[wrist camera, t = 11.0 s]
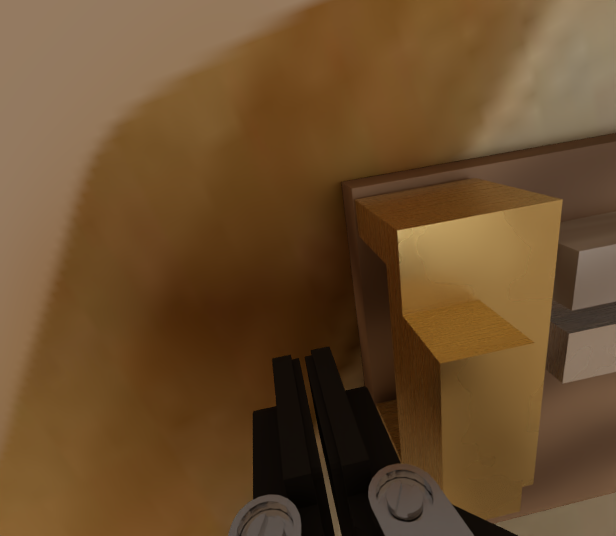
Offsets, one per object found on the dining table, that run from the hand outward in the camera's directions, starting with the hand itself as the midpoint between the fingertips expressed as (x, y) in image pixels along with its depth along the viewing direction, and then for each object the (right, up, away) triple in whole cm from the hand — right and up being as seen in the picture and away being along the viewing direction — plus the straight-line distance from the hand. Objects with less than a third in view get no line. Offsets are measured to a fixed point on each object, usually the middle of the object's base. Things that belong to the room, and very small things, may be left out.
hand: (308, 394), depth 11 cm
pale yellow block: (+4, +2, +3) cm, 5 cm away
